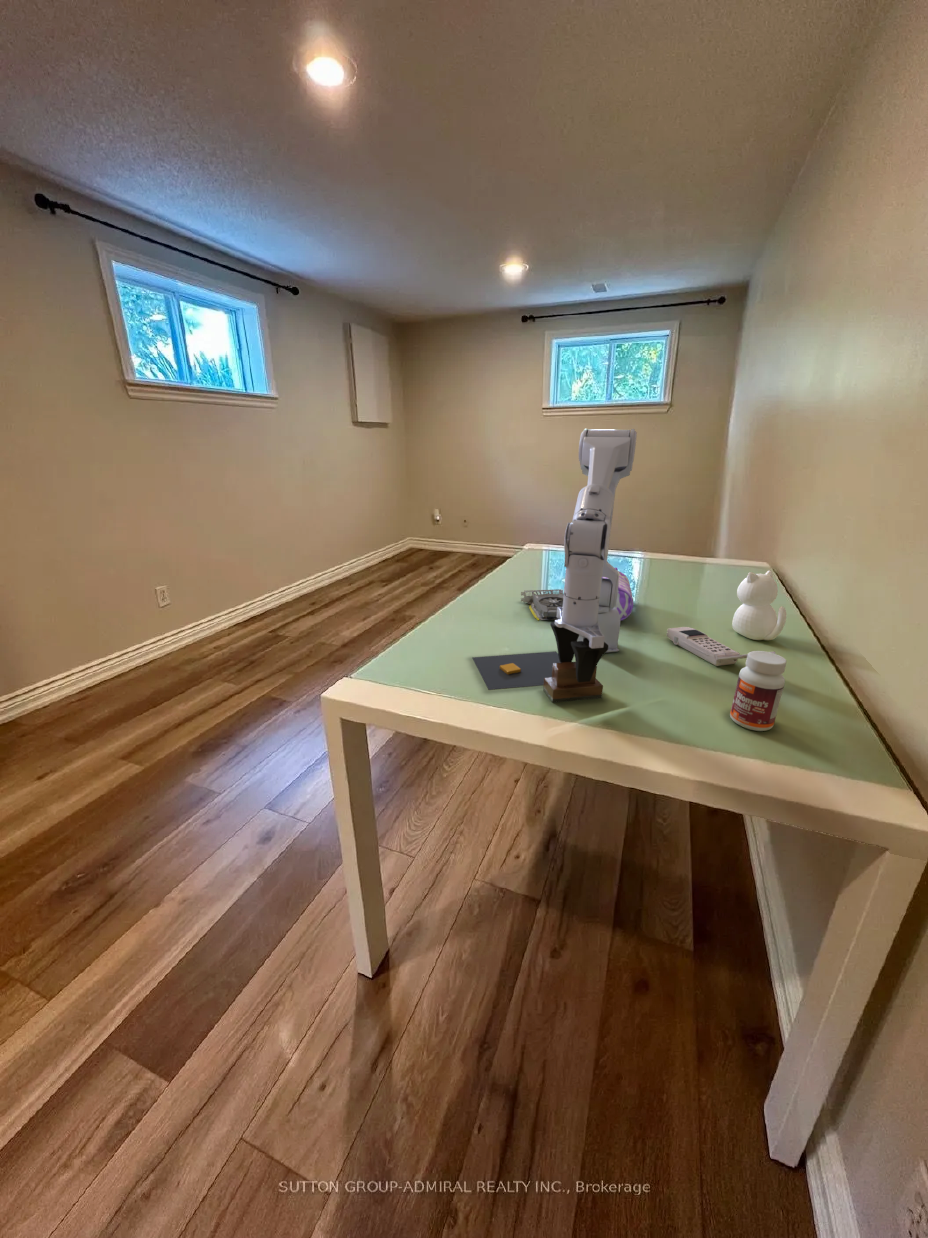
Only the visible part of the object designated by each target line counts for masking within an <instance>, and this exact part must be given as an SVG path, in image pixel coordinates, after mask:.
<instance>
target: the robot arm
mask: <svg viewBox="0 0 928 1238" xmlns="http://www.w3.org/2000/svg"><path fill="white" fill-rule="evenodd" d="M637 435H638V432H637V431H636V429H635V428H630V429H589V428H584V429H583V431H581V433H580V435H579V442H578V462H579V465H580V470H581V472H582V475H584V476H586V477H587V485H585V486H583V487H581V489H580V491H579V492H578V494H577V499H576V503H575V506H574V507H575V508H574V511H573V516H572V521H571V522H567V523H566V524H567V525H566V527H565V530H564V531H565V532H564V540H563V551H564V563H563V564H564V568H565V573H564V575H565V576H564V586H563V594H564V597H563V607H557V618H558V619H557V620H554V621H552V622H550V624H549V625H550V627H551V630H552V632H553V636H554V639H555V643H556V649H557V653H558V656H559V660H560V662H561V663H564V662H573V660H574V659H575V662H576V678H577V681H578V682H590V680H591V678H592V675H593V673H594V670H595V668H596V666H597V667H598V664H599V662H600V660H601V659H602V657H603V656H604V655H605V654H606V653H617V652H619V651H620V649H619V647H618V646H619V645H618V644H619V637H620V631H621V630H620V629H621V621H620V615H619V612H618V610H617V609H616V608H615V607H616V601H617V594H618V586H619V581H618V580H619V574H618V571H619V570H618V571H617V570H616V569H615V568H616V567H614V566H613V565H612V564H611V563H610V562H608V557H609V548H610V541H611V533H612V523H613V515H614V508H615V506H614V505H615V499H616V490H617V487H618V486H619V484H620V481H621V480H622V479H623V478H626V477H629V476H631V472H632V470H633V464H634V460H635V453H636V446H637V437H638V436H637ZM602 577H606V578H602ZM607 578H609V579H607Z"/></svg>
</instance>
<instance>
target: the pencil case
mask: <svg viewBox="0 0 928 1238" xmlns="http://www.w3.org/2000/svg"><path fill="white" fill-rule="evenodd" d="M614 568H615V569H616V570H617V571H618V574H619V580H618V581H619V586H618V594H617V601H616V607H615V608H616V609H617V610H618V612H619V615H620V622H622V621H625V620H626V619H627V618H629V617H630V616H631V614H632V612H633V610H634V597H633V592H632V588H631V584H630V580H629V577H628V576H627V575H626V574H625V573H623V572H622V571H619V570H618V569H619V568H618V567H614ZM602 578H606V577H602ZM607 579H609V578H607Z"/></svg>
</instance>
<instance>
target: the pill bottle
mask: <svg viewBox="0 0 928 1238" xmlns="http://www.w3.org/2000/svg"><path fill="white" fill-rule="evenodd" d="M771 652H772V651H765V650H752V651H749V652H748V653H747V654H748V656H747V658H746V660H745V666H744V667H742V668H741V669H740V671H739V673H738V676H737V677H738V678H737V682H736V685H735V691H734V695H733V699H732V704H731V707H730V712H729V716H730V719H731V720H732V722H734V723H735V724H736V725H739V726H740V727H742V728H744V729H747V730H750V731H755V732H756V731H757V732H763V731H764V732H765V731H769V730H771V729H773V727H774V725H775V722H776V718H777V714H778V712H779V711H778V710H779V706H780V703H781V699H782V696H783V692H784V688H785V683H786V678H785V677H784V675H783V674H784V673H785V672H786V671H785V670H786V666H787V659H786V658H785V657H784V656H781V655H779V654H777V653H775V654H774V653H771Z"/></svg>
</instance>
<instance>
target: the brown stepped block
mask: <svg viewBox="0 0 928 1238" xmlns="http://www.w3.org/2000/svg"><path fill="white" fill-rule="evenodd" d="M597 670H598V665H597V666H596V668H595V670H594V673H593V675H592V678H591V680H590V682H578V681H577V678H576V661H572V662H564V663H553V668H552V677H550V678H544V685H543V687H542V690H543V692H544V694H545V695H546V697H548V699H549V700H550V701H551V703H552V704H554V703H563V702H574V701H576V702H577V701H587V700H596V699H597V700H598V699H602V698H603V690H604V685H603V684H602V683H601V682H600V681H599V680H598V679H597Z"/></svg>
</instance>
